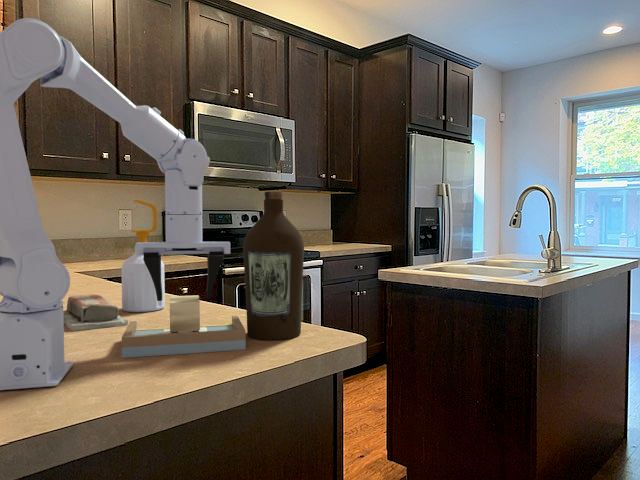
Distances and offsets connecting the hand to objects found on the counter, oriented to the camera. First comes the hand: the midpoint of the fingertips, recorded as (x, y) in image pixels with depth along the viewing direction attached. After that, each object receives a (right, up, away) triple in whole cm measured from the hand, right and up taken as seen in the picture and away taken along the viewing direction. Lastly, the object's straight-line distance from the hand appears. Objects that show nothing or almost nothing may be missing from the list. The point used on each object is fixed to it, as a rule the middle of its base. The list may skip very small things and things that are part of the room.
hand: (184, 299), depth 80 cm
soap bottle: (-18, -6, +32) cm, 37 cm away
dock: (0, -7, 0) cm, 7 cm away
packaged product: (-24, -7, +20) cm, 32 cm away
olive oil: (+14, -7, +7) cm, 17 cm away
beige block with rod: (0, -6, +1) cm, 6 cm away
